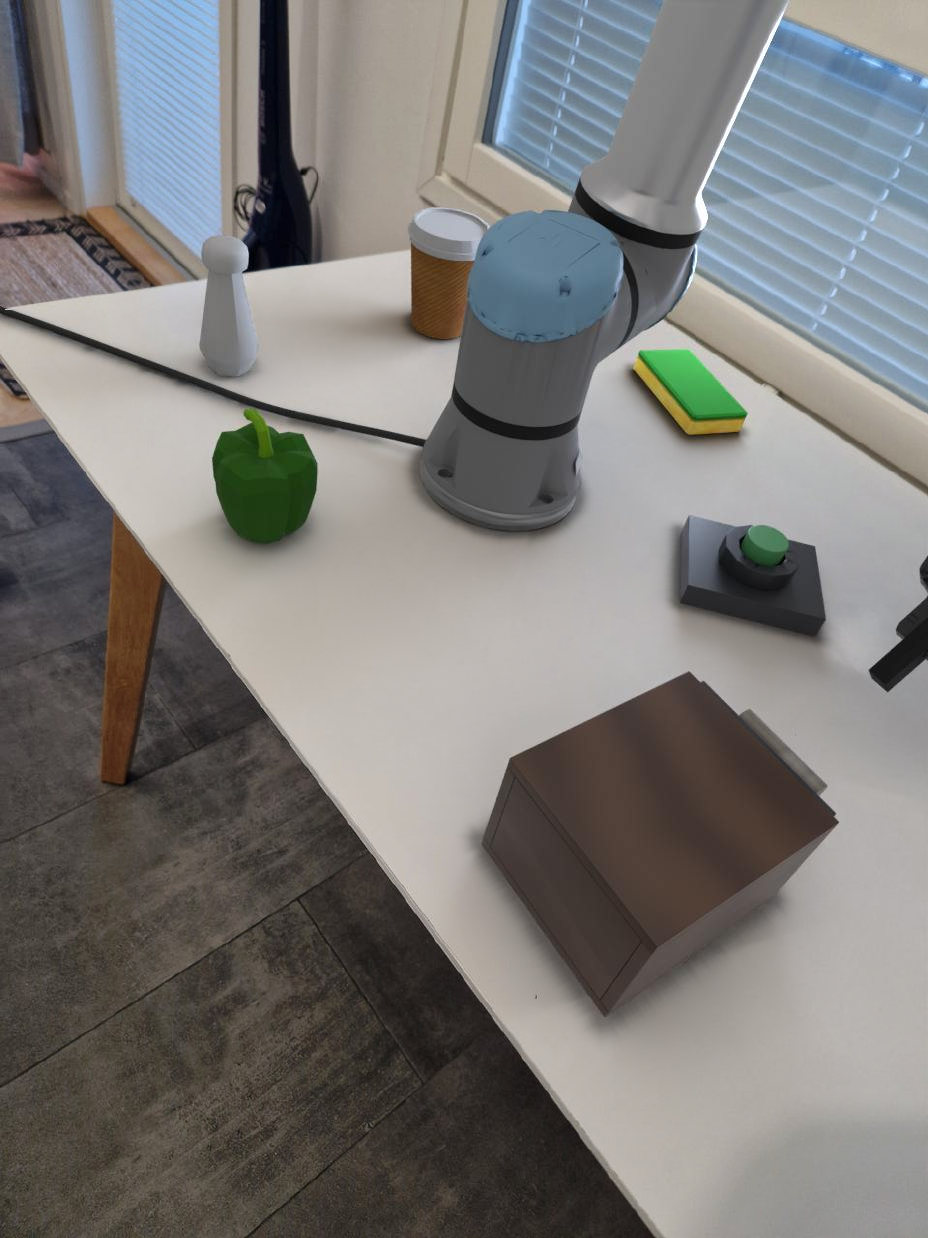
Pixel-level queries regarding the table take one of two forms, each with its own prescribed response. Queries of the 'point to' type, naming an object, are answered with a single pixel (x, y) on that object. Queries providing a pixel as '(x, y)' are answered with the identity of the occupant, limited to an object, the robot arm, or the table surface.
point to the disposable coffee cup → (442, 268)
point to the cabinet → (649, 835)
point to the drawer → (779, 750)
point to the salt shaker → (227, 308)
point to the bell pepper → (264, 479)
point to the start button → (764, 545)
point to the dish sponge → (689, 391)
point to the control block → (749, 578)
